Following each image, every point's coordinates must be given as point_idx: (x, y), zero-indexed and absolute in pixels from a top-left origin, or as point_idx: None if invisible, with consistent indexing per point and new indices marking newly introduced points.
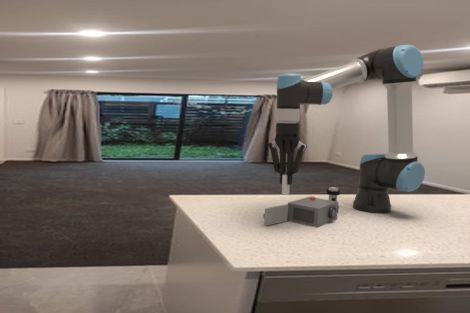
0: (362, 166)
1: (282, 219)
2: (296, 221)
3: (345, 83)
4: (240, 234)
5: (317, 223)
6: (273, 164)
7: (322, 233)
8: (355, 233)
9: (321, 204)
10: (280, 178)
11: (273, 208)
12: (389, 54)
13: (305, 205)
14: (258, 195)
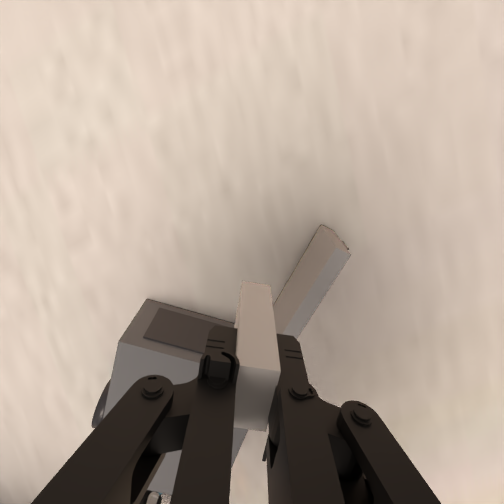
0: None
1: (276, 305)
2: (228, 324)
3: None
4: (401, 56)
5: (143, 306)
6: (424, 482)
7: (109, 235)
8: (14, 287)
9: None
10: (298, 362)
11: (312, 283)
12: None
13: (186, 369)
14: None
